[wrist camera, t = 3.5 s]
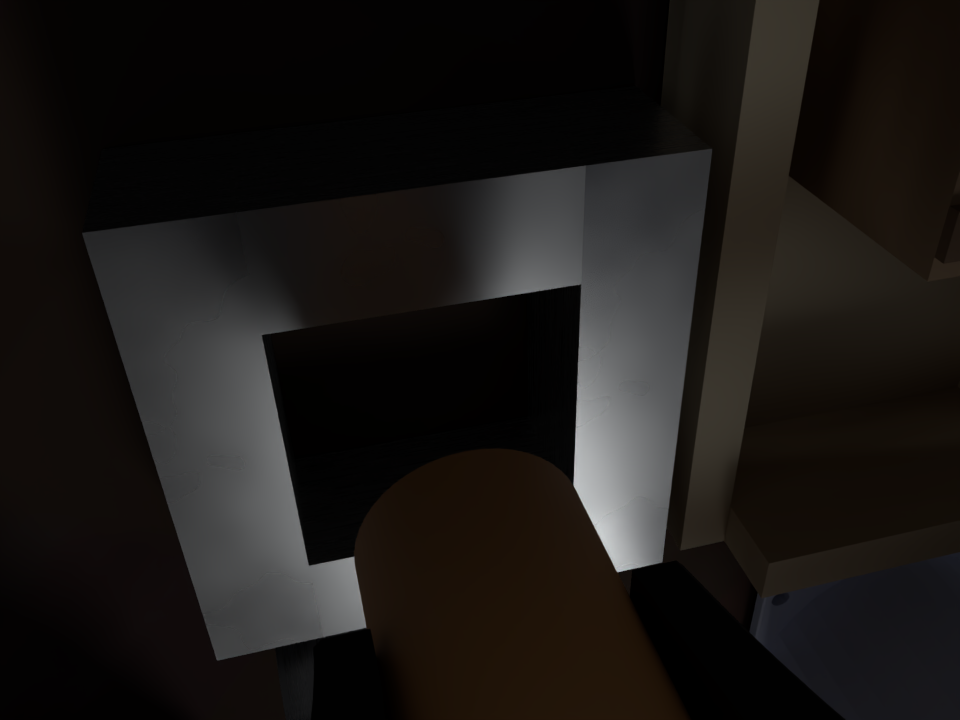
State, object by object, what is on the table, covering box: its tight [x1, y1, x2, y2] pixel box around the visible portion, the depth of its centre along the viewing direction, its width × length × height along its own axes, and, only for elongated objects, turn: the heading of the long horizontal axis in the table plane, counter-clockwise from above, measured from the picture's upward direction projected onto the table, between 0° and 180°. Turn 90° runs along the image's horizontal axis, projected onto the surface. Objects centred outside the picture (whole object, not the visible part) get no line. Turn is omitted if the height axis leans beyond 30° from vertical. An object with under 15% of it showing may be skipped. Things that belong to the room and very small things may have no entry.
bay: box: [661, 0, 960, 598], centre depth 16 cm, size 14×9×4 cm, turn 2°
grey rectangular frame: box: [82, 86, 712, 720], centre depth 18 cm, size 13×9×4 cm
